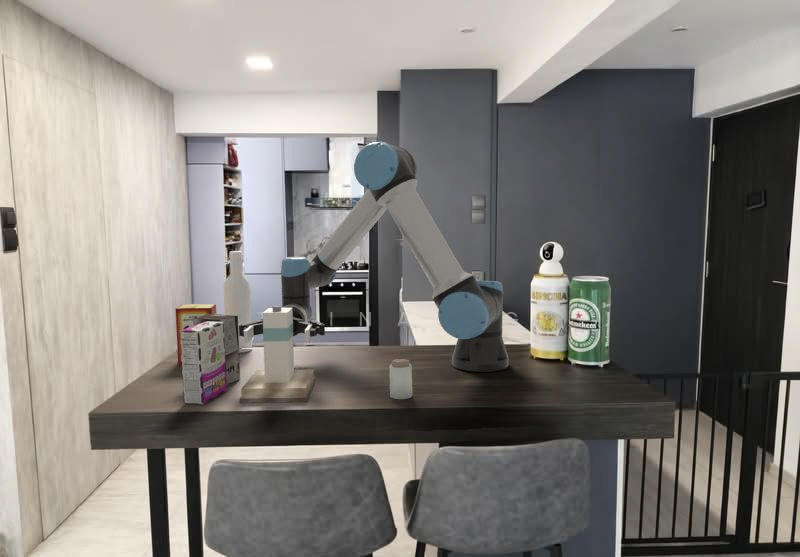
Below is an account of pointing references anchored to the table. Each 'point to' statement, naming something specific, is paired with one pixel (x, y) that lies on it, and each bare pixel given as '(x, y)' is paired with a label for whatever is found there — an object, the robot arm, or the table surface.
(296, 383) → the podium
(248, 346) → the bottle
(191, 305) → the baking soda box
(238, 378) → the coffee box
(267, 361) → the carton
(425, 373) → the table surface
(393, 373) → the ceramic jar
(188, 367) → the candy bar box
